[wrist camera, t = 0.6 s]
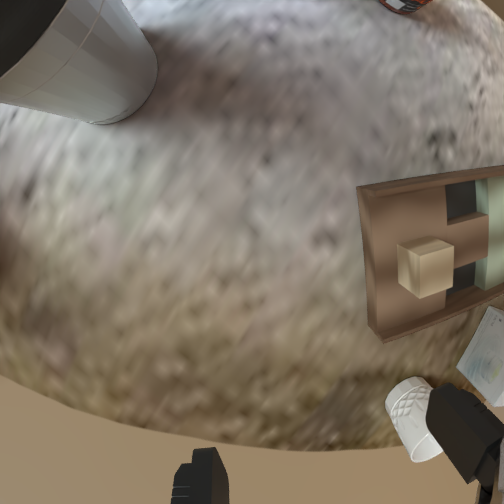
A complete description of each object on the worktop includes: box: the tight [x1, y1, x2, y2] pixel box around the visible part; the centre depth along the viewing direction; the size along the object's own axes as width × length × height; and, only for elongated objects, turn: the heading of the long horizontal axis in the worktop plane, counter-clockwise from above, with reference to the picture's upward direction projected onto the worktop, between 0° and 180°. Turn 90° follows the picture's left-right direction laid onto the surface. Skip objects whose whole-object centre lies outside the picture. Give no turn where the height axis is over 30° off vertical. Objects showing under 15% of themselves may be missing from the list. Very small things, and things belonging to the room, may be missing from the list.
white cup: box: [385, 376, 443, 462], centre depth 31 cm, size 8×8×10 cm
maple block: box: [397, 235, 454, 299], centre depth 26 cm, size 4×4×4 cm
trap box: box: [356, 165, 504, 344], centre depth 28 cm, size 15×25×4 cm, turn 102°
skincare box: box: [456, 306, 504, 407], centre depth 31 cm, size 10×6×10 cm, turn 162°
